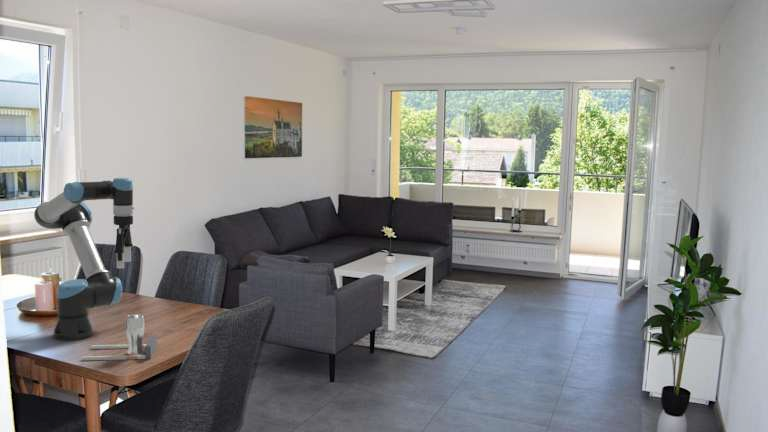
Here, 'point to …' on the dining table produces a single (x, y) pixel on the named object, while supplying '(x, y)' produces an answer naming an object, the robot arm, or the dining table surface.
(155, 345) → the guide track
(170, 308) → the dining table surface
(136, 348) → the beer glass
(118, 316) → the dining table surface
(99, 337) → the dining table surface
